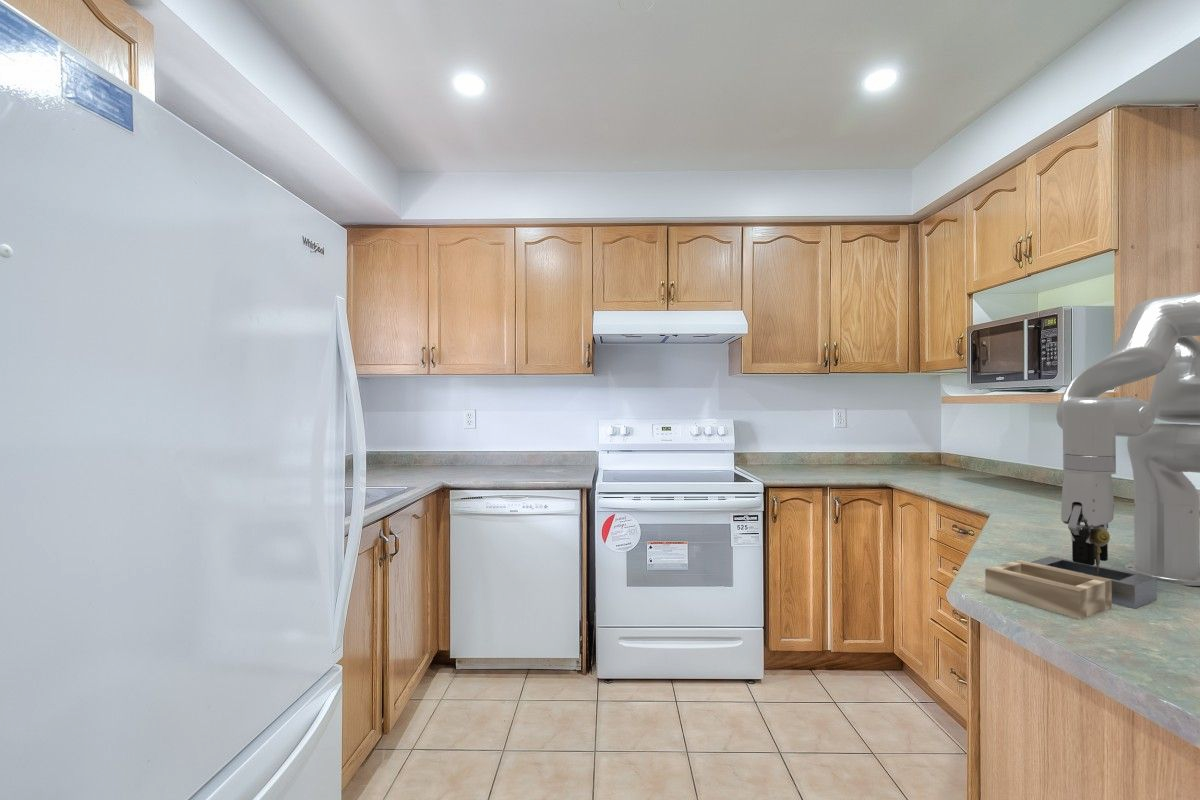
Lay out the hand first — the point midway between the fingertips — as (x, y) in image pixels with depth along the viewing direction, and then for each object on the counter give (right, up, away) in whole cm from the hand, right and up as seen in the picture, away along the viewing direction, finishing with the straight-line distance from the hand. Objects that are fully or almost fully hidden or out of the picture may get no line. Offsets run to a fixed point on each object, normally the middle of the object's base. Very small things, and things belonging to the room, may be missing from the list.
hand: (1090, 560), depth 106 cm
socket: (-13, -6, -6) cm, 15 cm away
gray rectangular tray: (0, -6, 0) cm, 6 cm away
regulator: (0, -5, 0) cm, 5 cm away
